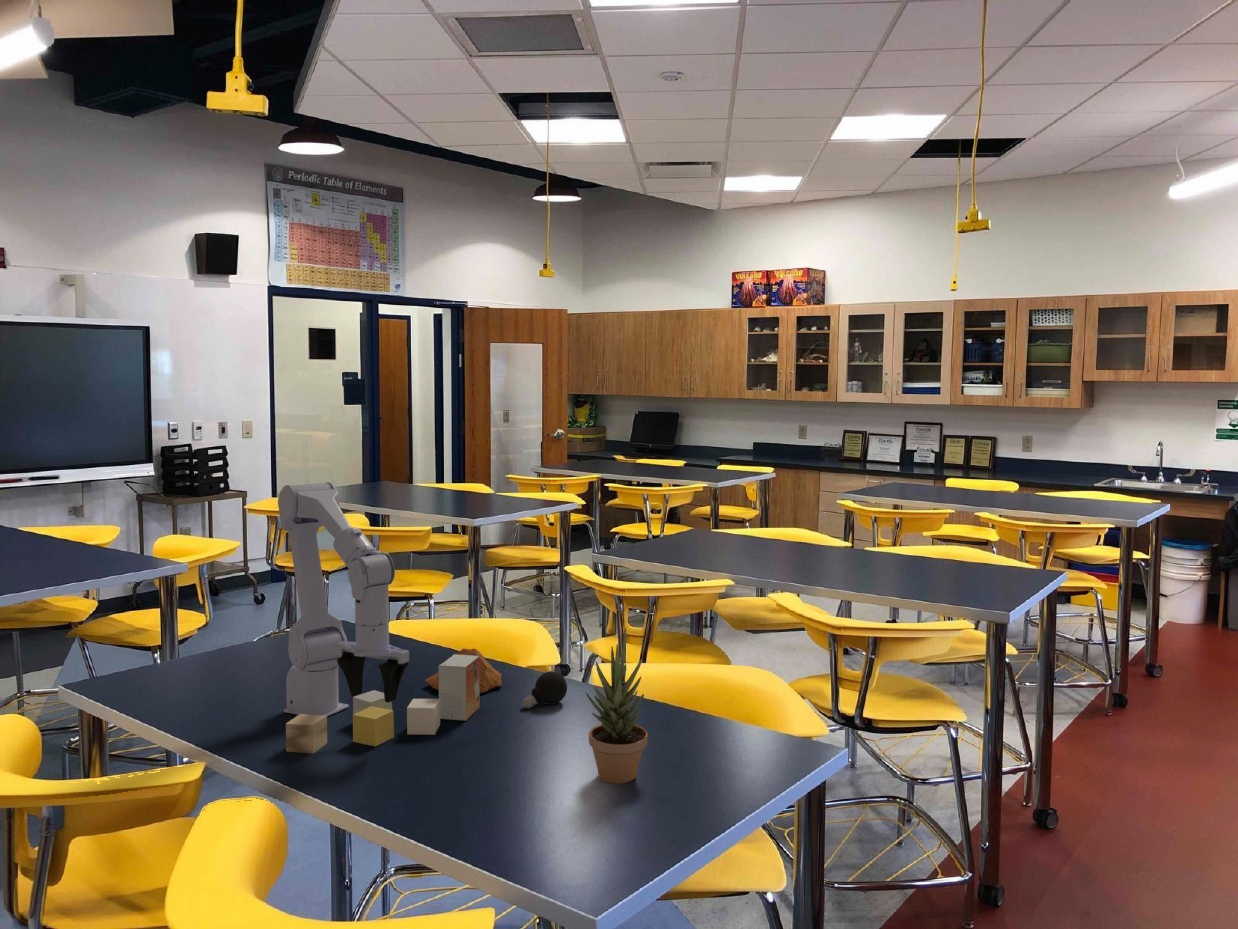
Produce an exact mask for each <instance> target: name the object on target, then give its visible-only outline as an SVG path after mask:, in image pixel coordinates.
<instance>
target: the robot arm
mask: <svg viewBox="0 0 1238 929" xmlns="http://www.w3.org/2000/svg"><path fill="white" fill-rule="evenodd" d="M277 508H278V514H279V521H280V524H281V528H282V530H284V531H286V532H288V537H289V543H290V551H291V555H292V556H291V557H292V564H293V570H294V577H295V584H296V590H297V597H298V605H299V612H300V618H298V620H297V621H296V622H295V623H294V624H293V625H292V626H290V629H289V630H288V645H287V646H288V647H287V651H288V658H289V661H290V662H291V664H292V665H291V667H290V668H289V669H288V671H287V675H286V677H285V678H286V679H285V680H286V682H285V685H286V686H285V687H286V688H285V690H286V708H283V712H284V713H287V714H293V715H296V716H298V715H299V714H310V715H323V716H327V717H329V716H331V715H333V714H336V713H338V712H341V711H343V710H345V709H347V708H349V707H350V705H349V704H347V703H341V702H340V700H339V698H340V696H339V695H340V694H339V668H340V669H341V671H342V672H343V676H345V680H346V683H347V685H348V689H349V692H350V695H351V697H355V696H358V695H361V694H363V681H364V678H363V676H364V674H363V673H364V666H365V661H366V658H370V659H371V658H372V659H377V660H384V661H386V662H384V663H381V664H379V665H378V668H379V671H380V674H381V677H382V682H383V693H384V698H385V702H388V703H389V702H391V701H392V702H393V701H396V698H397V694H398V690H399V685H400V682H401V680H402V677H403V675H404V674H405V673H404V672H405V671H406V669H407V667H408V666H409V662H410V651H409V650H408V649H403V648H400V647H397V646H394V645H391V644H390V625H389V624H390V622H389V620H390V618H389V615H390V614H389V612H390V611H389V608H390V604H389V585H391V584H392V583H393V582H394V581H395V580H394V579H395V576H396V575H395V574H396V569H395V568H396V567H395V563H394V561H393V558H392V557H391V555H390V554H389V553H387V552H384V551H383V552H382V550H377V549H376V548H375V547H374V545H373V544H372V543H371V541H370V539H368V537H367V536H366V535H365V533H364V532H363V531H362V530H361V528H358V527H352V526H351V524H350V522H349V521H348V519H347V518H346V516H345V514H344V513H343V510H342V509H341V507H340V494H339V491H338V488H337V487H336V486H335V484H334V483H332V482H331V481H326V482H322V483H311V484H310V483H309V484H307V483H306V484H305V483H304V484H294V485H291V484H286V485H284V486H282V488H281V489H280V492H279V494H278V499H277ZM322 527H324V528H325V530H327V532H328V533H329V535H331V536H332V537H333V538H334V540H333V549H334V551H335V552H336V553H337V555H338V556H339V557H340V559H341V560H342V562H343V563H344V565H345V566H346V567H347V569H348V570H347V576H348V582H349V584H350V587H351V588H350V589H351V595H352V596H351V597H352V598H353V599H354V610H355V611H354V612H355V614H354V615H355V616H354V617H355V618H354V619H355V620H354V621H355V625H354V626H355V641H349V640H348V638H347V636H346V633H345V631H344V629H343V624H342V621H341V619H339V618H337V617H335V615H334V616H333V615H332V614H330V613H329V610H328V604H327V602H328V601H327V597H326V591H325V583H324V576H323V575H324V574H323V569H322V564H321V563H322V562H321V557H320V550H319V543H318V542H319V541H318V536H317V534H318V531H319V529H320V528H322ZM318 629H324V630H321V631H320V630H319V631H316V632H315V631H314V632H309V631H313V630H318ZM307 632H308V633H307Z"/></svg>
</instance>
